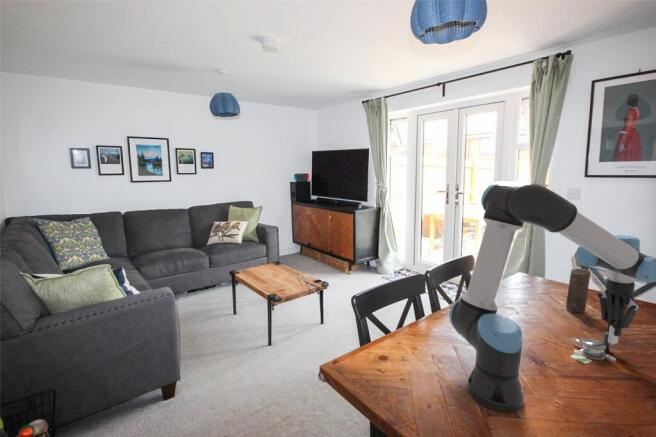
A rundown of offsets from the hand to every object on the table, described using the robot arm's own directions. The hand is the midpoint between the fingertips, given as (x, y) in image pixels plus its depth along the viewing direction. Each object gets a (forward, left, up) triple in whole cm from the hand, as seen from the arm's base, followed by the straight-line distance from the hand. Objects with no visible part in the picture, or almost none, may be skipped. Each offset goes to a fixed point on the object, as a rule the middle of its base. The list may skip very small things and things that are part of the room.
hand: (612, 342), depth 119 cm
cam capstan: (-7, +2, -4) cm, 8 cm away
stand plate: (-6, +1, -5) cm, 8 cm away
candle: (+27, +27, -5) cm, 39 cm away
